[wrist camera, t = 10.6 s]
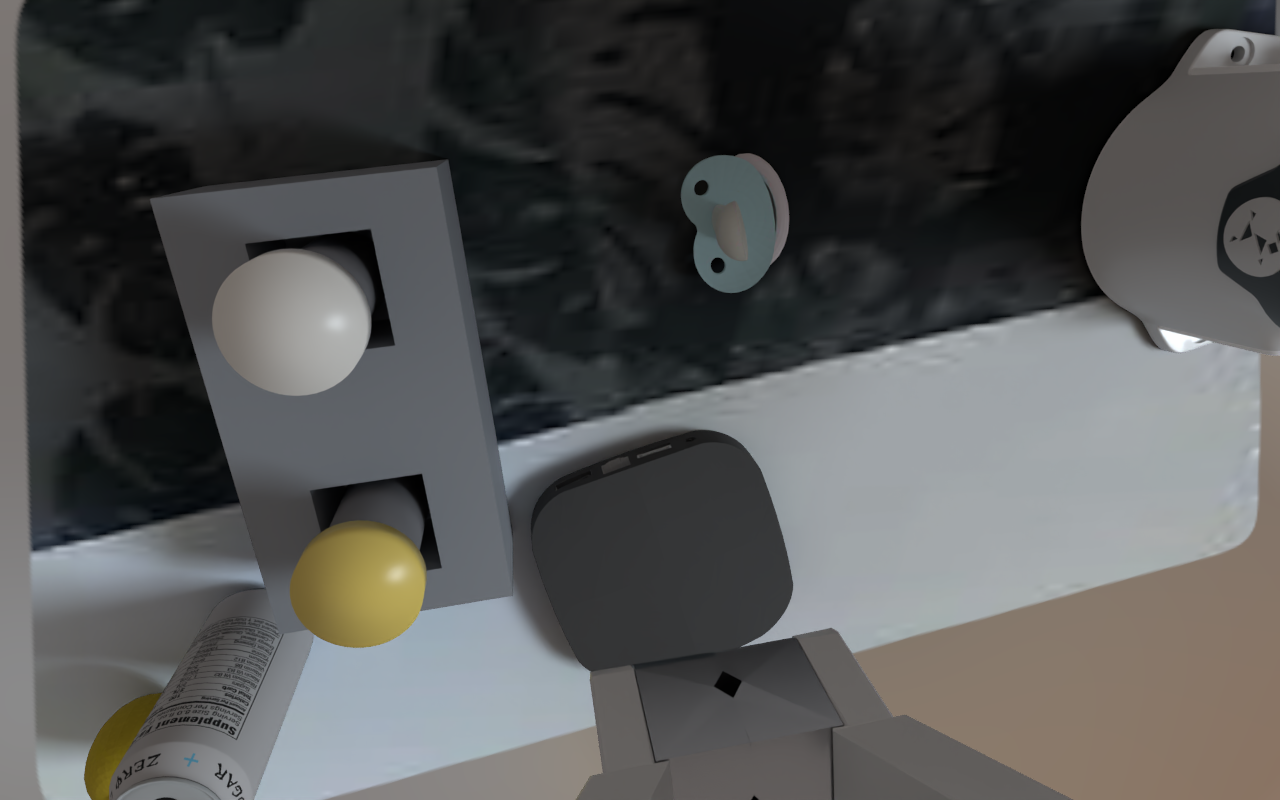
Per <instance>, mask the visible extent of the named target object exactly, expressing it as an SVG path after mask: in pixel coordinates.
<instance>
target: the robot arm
mask: <svg viewBox="0 0 1280 800" xmlns="http://www.w3.org/2000/svg"><path fill="white" fill-rule="evenodd" d="M1232 50H1234V56H1233V59H1232V60H1231V52H1232ZM1081 235H1082V244H1083V250H1084V254H1085V258H1086V261H1087V264H1088V267H1089V269H1090V272H1091V274H1092V276H1093V277H1094V279H1095V281H1096V282H1097V284H1098V286H1099V287H1100V288H1101V289H1102V291H1103V292H1104V293H1105V294H1106V295H1107V296H1108V297H1109V298H1110V299H1111V300H1112V301H1114V302H1115V303H1116V304H1118V305H1119V306H1121V307H1122V308H1124V309H1126V310H1127V311H1129V312H1131V313H1132V314H1134V315H1135V316H1137V317H1138V318H1139V319H1140V320H1141V321H1142V322H1143V324H1144V326H1145V328H1146V329H1147V331H1148V333H1149V335H1150V337H1151V338H1152V340H1153V341H1154V343H1155V344H1156V345H1157V346H1158V347H1159V348H1160V349H1162V350H1164V351H1169V352H1173V353H1184V352H1188V351H1191V350H1194V349H1197V348H1199V347H1202V346H1205V345H1208V344H1211V343H1214V342H1215V343H1219V344H1223V345H1228V346H1232V347H1236V348H1240V349H1245V350H1249V351H1253V352H1257V353H1262V354H1266V355H1275V356H1278V355H1280V36H1276V35H1269V34H1261V33H1254V32H1247V31H1239V30H1232V29H1210V30H1207V31H1205V32H1203V33H1202V34H1200V35H1199V36H1198V37H1197V38H1196V39H1195V40H1194V42H1193V43H1192V44H1191V45H1190V47H1189V48H1188V50H1187V51H1186V53H1185V54H1184V56H1183V57H1182V59H1181V60H1180V62H1179V63H1178V65H1177V67H1176V68H1175V70H1174V72H1173V73H1172V75H1171V76H1170V77H1169V79H1168V80H1167V81H1166V82H1165V83H1164V84H1163V85H1161V86H1160V87H1159V88H1158V89H1157V90H1156V91H1155V92H1153V93H1152V94H1151V95H1150V96H1148V97H1147V98H1146V99H1145V100H1143V101H1142V102H1141V103H1140V104H1139V105H1138V106H1137V107H1135V108H1134V109H1133V110H1132V111H1131V112H1130V113H1129V114H1128V115H1127V116H1126V118H1125V119H1124V120H1123V121H1122V122H1121V123H1120V124H1119V126H1118V127H1117V128H1116V130H1115V131H1114V132H1113V134H1112V135H1111V137H1110V138H1109V140H1108V141H1107V143H1106V144H1105V146H1104V148H1103V149H1102V151H1101V153H1100V155H1099V157H1098V159H1097V161H1096V163H1095V165H1094V168H1093V170H1092V173H1091V175H1090V178H1089V181H1088V185H1087V188H1086V192H1085V196H1084V201H1083V207H1082V218H1081ZM590 684H591V691H592V698H593V705H594V712H595V719H596V726H597V733H598V741H599V748H600V755H601V762H602V769H603V773H602V774H597V775H593V776H590V777H589V779H588V781H587V782H586V784H585V786H584V787H583V789H582V790H581V792H580V794H579V795H578V797H577V799H576V800H1072V799H1071V798H1069V797H1067V796H1065V795H1063V794H1061V793H1059V792H1057V791H1055V790H1053V789H1051V788H1049V787H1047V786H1045V785H1043V784H1041V783H1039V782H1037V781H1035V780H1033V779H1031V778H1029V777H1027V776H1025V775H1023V774H1021V773H1019V772H1017V771H1015V770H1013V769H1011V768H1010V767H1008V766H1005V765H1004V764H1001V763H1000V762H998V761H996V760H993V759H992V758H990V757H988V756H986V755H984V754H982V753H980V752H978V751H976V750H974V749H972V748H970V747H968V746H966V745H964V744H962V743H960V742H958V741H956V740H954V739H952V738H950V737H948V736H946V735H944V734H942V733H940V732H939V731H937V730H935V729H933V728H931V727H929V726H927V725H925V724H923V723H921V722H919V721H916V720H915V719H913V718H911V717H909V716H907V715H901V716H896V717H893V716H892V714H891V712H890V711H889V709H888V708H887V706H886V705H885V703H884V702H883V700H882V699H881V697H880V696H879V694H878V693H877V691H876V689H875V688H874V686H873V685H872V683H871V682H870V680H869V679H868V677H867V676H866V674H865V673H864V671H863V669H862V668H861V666H860V665H859V663H858V662H857V660H856V659H855V657H854V655H853V654H852V652H851V651H850V649H849V648H848V646H847V645H846V643H845V642H844V640H843V639H842V637H841V635H840V634H839V632H838V631H836V630H834V629H832V628H829V629H824V630H820V631H815V632H810V633H805V634H801V635H796V636H792V638H788V639H782V640H777V641H772V642H766V643H761V644H755V645H750V646H745V647H739V648H734V649H729V650H723V651H718V652H708V653H702V654H696V655H689V656H683V657H677V658H670V659H664V660H658V661H651V662H645V663H639V664H633V668H632V667H631V665H628V666H622V667H616V668H610V669H605V670H599V671H593V672H590Z"/></svg>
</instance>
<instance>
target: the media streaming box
mask: <svg viewBox="0 0 1280 800" xmlns="http://www.w3.org/2000/svg"><path fill="white" fill-rule="evenodd" d="M531 532H532V548H533V553H534V556H535V559H536V562H537V565H538V568H539V571H540V574H541V577H542V580H543V583H544V585H545V588H546V591H547V594H548V596H549V599H550V601H551V604H552V606H553V609H554V611H555V614H556V616H557V618H558V620H559V623H560V625H561V627H562V629H563V631H564V634H565V636H566V638H567V640H568V642H569V644H570V646H571V648H572V650H573V651H574V653H575V655H576V657H577V659H578V661H579V662H580V663H581V664H582V665H583V666H584V667H585V668H586V669H588V670H589V671H591V672H593V671H599V670H605V669H610V668H616V667H622V666H628V665H631V667H632V668H633V664H639V663H645V662H651V661H658V660H664V659H670V658H677V657H683V656H689V655H696V654H702V653H708V652H718V651H723V650H729V649H734V648H739V647H741V646H743V645H745V644H747V643H749V642H751V641H753V640H755V639H757V638H759V637H761V636H762V635H764V634H765V633H766V632H767V631H769V630H770V629H771V628H772V627H773V626H774V625H775V624H776V623H777V622H778V620H779V619H780V618H781V616H782V615H783V614H784V612H785V610H786V608H787V606H788V604H789V602H790V599H791V596H792V591H793V581H792V575H791V570H790V565H789V560H788V556H787V551H786V547H785V543H784V539H783V536H782V532H781V528H780V525H779V522H778V518H777V515H776V512H775V509H774V506H773V503H772V500H771V497H770V494H769V491H768V488H767V485H766V483H765V480H764V477H763V475H762V472H761V470H760V468H759V466H758V465H757V463H756V462H755V461H754V459H753V458H752V456H751V455H750V454H749V452H748V451H747V450H746V448H745V447H744V446H743V445H742V444H741V443H739V442H738V441H737V440H735V439H734V438H732V437H730V436H728V435H725V434H723V433H719V432H715V431H694V432H690V433H687V434H683V435H680V436H676V437H673V438H670V439H666V440H663V441H660V442H657V443H654V444H650V445H647V446H644V447H641V448H638V449H635V450H632V451H630V452H627V453H624V454H621V455H618V456H615V457H613V458H610V459H607V460H604V461H602V462H599V463H597V464H594V465H591V466H589V467H586V468H584V469H581V470H579V471H576V472H574V473H571V474H569V475H567V476H564V477H562V478H560V479H558V480H557V481H555V482H554V483H553V484H552V485H550V486H549V487H548V488H547V489H546V491H545V492H544V493H543V494H542V496H541V497H540V498H539V500H538V502H537V504H536V506H535V509H534V512H533V515H532V522H531Z"/></svg>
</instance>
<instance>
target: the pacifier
mask: <svg viewBox="0 0 1280 800" xmlns="http://www.w3.org/2000/svg"><path fill="white" fill-rule="evenodd" d="M700 180H705V181H706V182H707V184H708V189H707V191H706V193H705V194H703V195H700V196H699V195H696V193H695V192H694V187H695V184H696V183H697V182H698V181H700ZM681 201H682V206H683V209H684V211H685V213H686V215H687V216H688V218H689V219H690V221H691V222H692V223H694V224H695V225H696V228H697V234H696V237H695V240H694V248H693V252H694V261H695V265H696V267H697V270H698V272H699V274H700V276H701V277H702V278H703V280H704V281H705V282H706V283H707V284H709V285H710V286H711V287H713V288H715V289H716V290H719V291H722V292H727V293H736V292H741V291H744V290H747V289H748V288H750V287H752V286H753V285H754V284H756V283H757V282H758V281H759V280H760V279H761V278H762V277H763V276H764V274H765V273H766V271H767V270H768V268H769V266H770V265H771V264H772V263H773V262H774V261H775V260H776V259H777V258H778V257H779V255H780V253H781V251H782V249H783V247H784V245H785V242H786V238H787V235H788V228H789V209H788V201H787V197H786V194H785V190H784V187H783V185H782V183H781V181H780V179H779V176H778V175H777V173H776V172H775V171H774V169H773V168H772V167H771V165H770V164H769V163H767V162H766V161H765V160H764V159H762V158H761V157H759V156H756V155H753V154H750V153H745V154H738V155H736V156H729V155H717V156H712V157H709V158H707V159H704V160H702V161H700V162H699V163H697V164H696V165H695V166H694V167H693V168H692V169H691V170H690V171H689V172H688V174H687V175H686V177H685V179H684V181H683V184H682V188H681ZM771 202H772V203H771ZM772 206H773V207H772ZM717 257H719V258H722V260H723V261H724V264H725V266H724V269H723V271H722V272H720V273H714V272H713V271H712V269H711V262H712V260H713V259H714V258H717Z"/></svg>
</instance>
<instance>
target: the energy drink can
mask: <svg viewBox="0 0 1280 800" xmlns="http://www.w3.org/2000/svg"><path fill="white" fill-rule="evenodd" d="M313 636H314V634H313V633H312V632H310V631H309V630H304V631H298V632H292V633H286V634H280V635H279V632H278V628H277V625H276V622H275V618H274V615H273V612H272V608H271V605H270V601H269V598H268V595H267V591H266V589H254V590H246V591H242V592H238V593H235V594H233V595H231V596H229V597H227V598H225V599H224V600H223V601H221V602H220V603H219V604H218V605H217V606H216V607H215V608H214V609H213V610H212V612H211V614H210V615H209V617H208V619H207V620H206V622H205V624H204V625H203V627H202V629H201V630H200V632H199V633H198V635H197V637H196V638H195V640H194V642H193V643H192V645H191V647H190V648H189V650H188V652H187V653H186V655H185V657H184V658H183V660H182V661H181V663H180V665H179V666H178V668H177V670H176V671H175V673H174V675H173V676H172V678H171V680H170V681H169V683H168V685H167V686H166V688H165V689H164V691H163V693H162V694H161V696H160V698H159V699H158V701H157V703H156V704H155V706H154V708H153V709H152V711H151V713H150V714H149V716H148V717H147V719H146V721H145V722H144V724H143V726H142V727H141V729H140V731H139V732H138V734H137V736H136V737H135V739H134V741H133V742H132V744H131V745H130V747H129V749H128V750H127V752H126V754H125V755H124V757H123V759H122V760H121V762H120V764H119V765H118V767H117V769H116V770H115V772H114V774H113V776H112V778H111V782H110V786H109V800H254V798H255V795H256V792H257V790H258V787H259V784H260V782H261V779H262V776H263V774H264V771H265V768H266V766H267V763H268V761H269V758H270V755H271V753H272V750H273V747H274V745H275V742H276V739H277V737H278V734H279V731H280V729H281V726H282V724H283V721H284V718H285V716H286V713H287V710H288V708H289V705H290V702H291V700H292V697H293V694H294V692H295V689H296V686H297V684H298V681H299V679H300V676H301V673H302V671H303V668H304V665H305V663H306V660H307V657H308V655H309V652H310V649H311V646H312V643H313Z"/></svg>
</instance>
